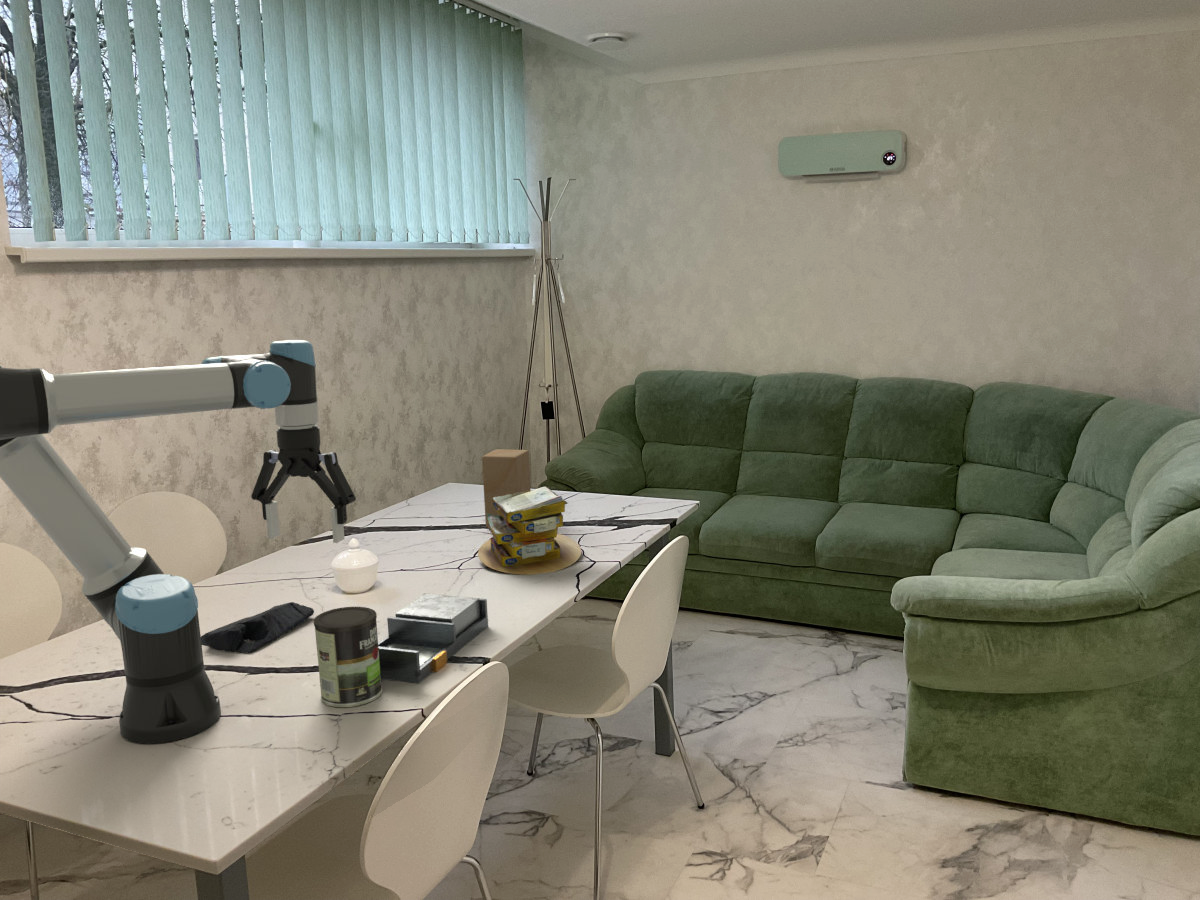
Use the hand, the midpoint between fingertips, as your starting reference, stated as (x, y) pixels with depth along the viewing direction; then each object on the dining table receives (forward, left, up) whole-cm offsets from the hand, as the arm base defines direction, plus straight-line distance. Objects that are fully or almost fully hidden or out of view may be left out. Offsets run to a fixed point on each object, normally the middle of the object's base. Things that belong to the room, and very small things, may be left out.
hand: (306, 538), depth 186 cm
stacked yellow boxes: (+64, -17, -23) cm, 70 cm away
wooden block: (+92, +2, -23) cm, 95 cm away
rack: (+6, -19, -22) cm, 30 cm away
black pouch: (+7, +18, -23) cm, 30 cm away
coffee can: (-15, -17, -23) cm, 32 cm away
